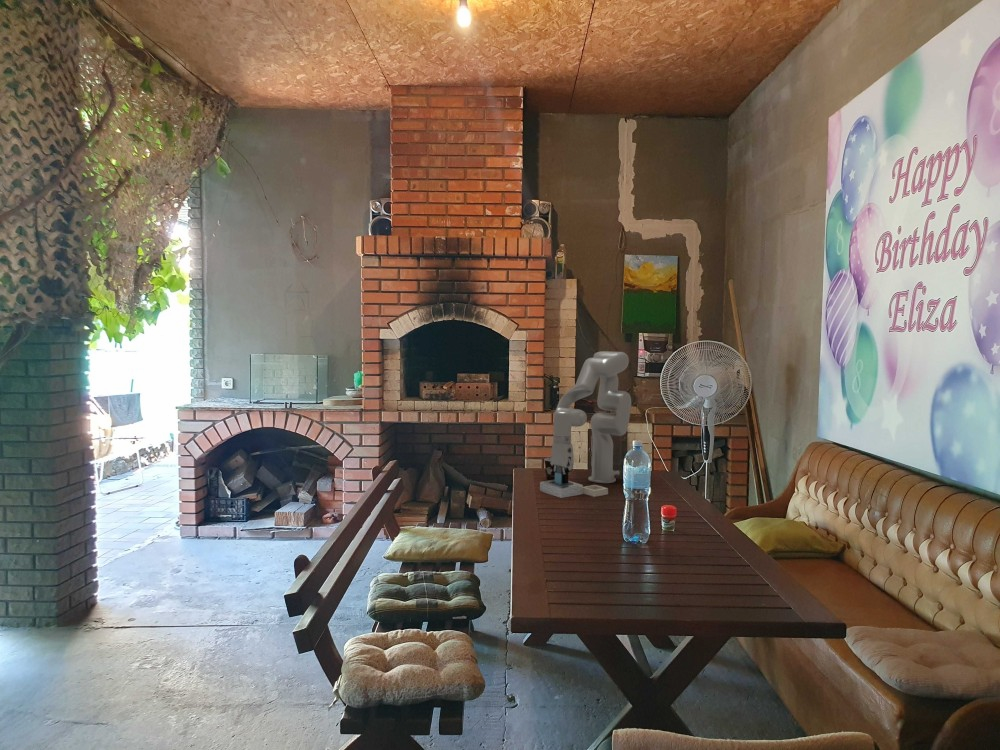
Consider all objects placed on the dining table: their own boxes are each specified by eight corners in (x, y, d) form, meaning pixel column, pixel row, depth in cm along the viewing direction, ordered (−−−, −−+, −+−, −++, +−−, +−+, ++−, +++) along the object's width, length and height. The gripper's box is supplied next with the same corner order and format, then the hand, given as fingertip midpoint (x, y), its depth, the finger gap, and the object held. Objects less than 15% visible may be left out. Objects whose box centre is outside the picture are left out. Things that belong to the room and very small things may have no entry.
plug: (561, 487, 276) (562, 464, 275) (567, 489, 273) (568, 466, 272) (554, 488, 274) (554, 465, 273) (560, 490, 270) (561, 467, 270)
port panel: (561, 487, 282) (561, 477, 282) (582, 494, 271) (582, 484, 271) (539, 491, 275) (540, 481, 275) (561, 498, 264) (561, 487, 264)
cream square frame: (594, 490, 278) (595, 484, 278) (608, 494, 271) (608, 488, 271) (581, 492, 273) (581, 487, 273) (594, 496, 267) (594, 490, 266)
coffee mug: (540, 479, 297) (541, 458, 296) (556, 478, 300) (557, 457, 300) (553, 485, 286) (553, 463, 286) (569, 483, 290) (570, 461, 289)
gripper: (582, 441, 267) (581, 484, 268) (556, 436, 281) (555, 477, 282) (568, 443, 263) (567, 487, 264) (542, 437, 276) (542, 479, 278)
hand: (561, 481), depth 273 cm, fingers closed on plug, 4 cm apart
